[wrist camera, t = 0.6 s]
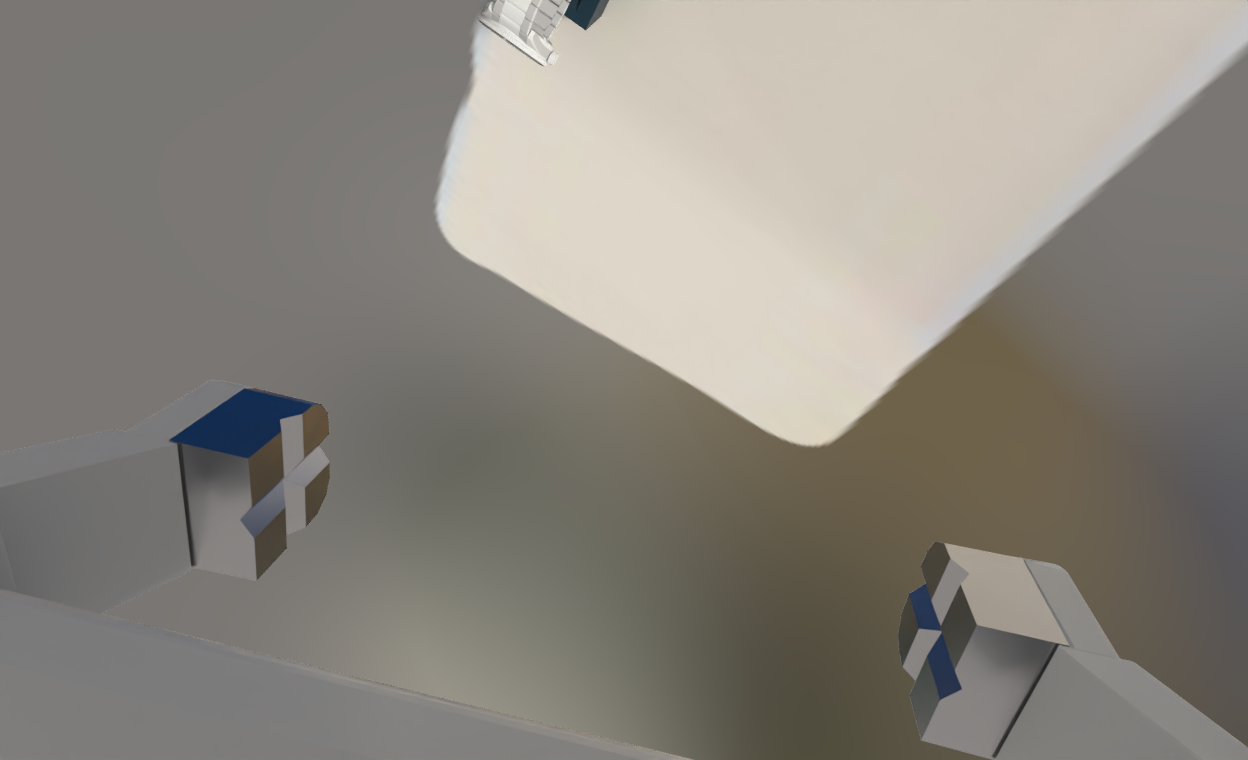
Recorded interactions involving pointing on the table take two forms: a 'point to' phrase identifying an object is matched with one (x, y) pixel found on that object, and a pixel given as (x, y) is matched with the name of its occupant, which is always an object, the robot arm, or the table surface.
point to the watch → (537, 22)
